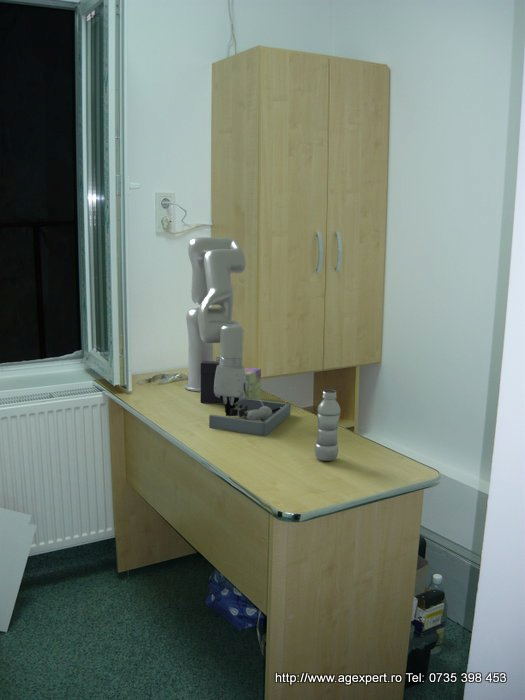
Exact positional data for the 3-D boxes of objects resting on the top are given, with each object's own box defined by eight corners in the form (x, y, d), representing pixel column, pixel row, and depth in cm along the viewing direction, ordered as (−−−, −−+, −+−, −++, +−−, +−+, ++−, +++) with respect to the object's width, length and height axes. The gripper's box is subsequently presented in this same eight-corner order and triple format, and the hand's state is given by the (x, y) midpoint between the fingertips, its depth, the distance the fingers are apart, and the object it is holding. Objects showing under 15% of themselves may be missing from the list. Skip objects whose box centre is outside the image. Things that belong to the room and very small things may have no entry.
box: (246, 397, 253) (247, 366, 251) (260, 399, 251) (261, 368, 248) (234, 404, 244) (235, 372, 241) (248, 406, 241) (249, 374, 239)
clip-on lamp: (259, 416, 237) (226, 420, 223) (260, 398, 237) (228, 400, 223) (287, 420, 230) (255, 424, 216) (288, 402, 230) (256, 404, 216)
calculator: (231, 401, 247) (232, 361, 244) (230, 405, 242) (231, 364, 239) (202, 400, 248) (202, 360, 245) (200, 403, 243) (200, 362, 240)
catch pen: (238, 408, 239) (238, 397, 238) (290, 415, 232) (290, 403, 232) (209, 427, 217) (209, 415, 216) (265, 436, 210) (265, 423, 209)
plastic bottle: (310, 457, 193) (313, 389, 189) (331, 454, 196) (334, 387, 192) (320, 465, 187) (324, 395, 183) (342, 462, 190) (346, 393, 186)
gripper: (205, 361, 222) (204, 415, 226) (247, 366, 217) (246, 421, 221) (215, 357, 229) (214, 409, 233) (256, 362, 224) (254, 415, 228)
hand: (229, 415), depth 227 cm, fingers closed
